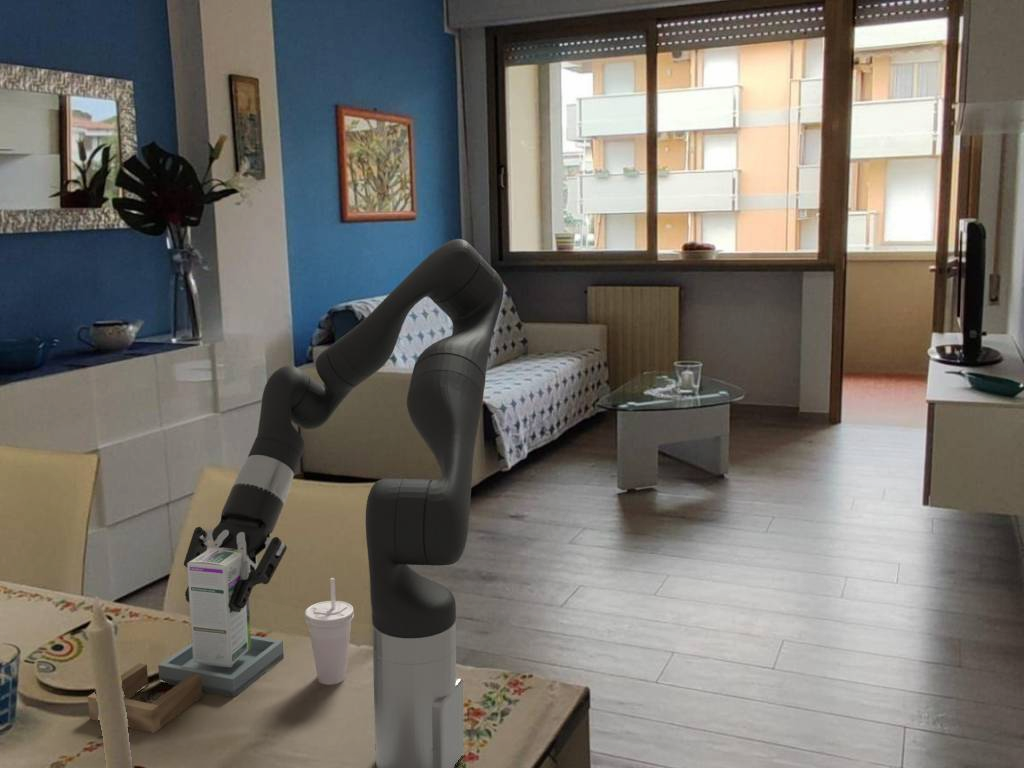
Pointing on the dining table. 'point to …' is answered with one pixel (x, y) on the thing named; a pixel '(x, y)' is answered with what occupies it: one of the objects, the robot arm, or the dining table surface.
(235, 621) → the syrup box
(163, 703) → the holder
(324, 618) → the smoothie
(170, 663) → the tray
